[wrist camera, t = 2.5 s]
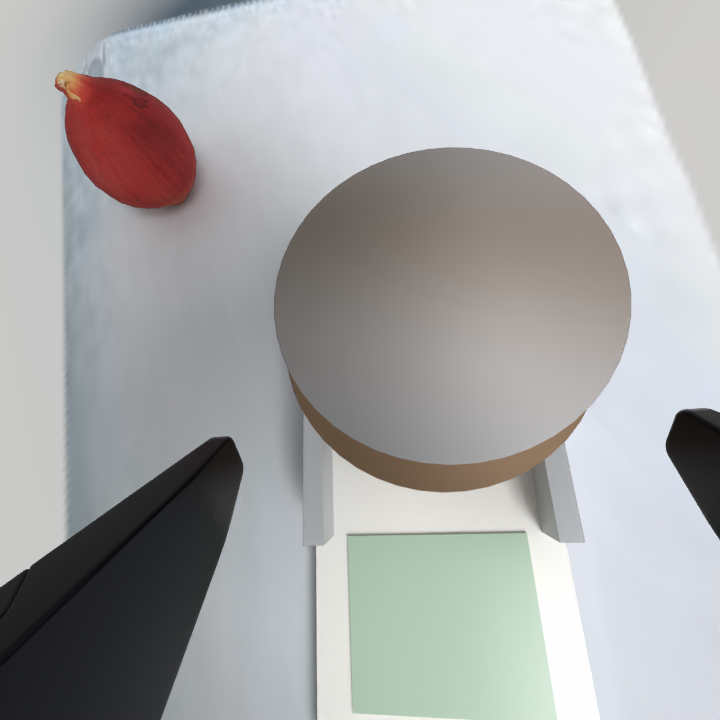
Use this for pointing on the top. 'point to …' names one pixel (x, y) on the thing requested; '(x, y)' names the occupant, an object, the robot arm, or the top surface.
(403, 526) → the lane rack
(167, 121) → the onion
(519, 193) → the pepper mill
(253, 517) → the top surface
